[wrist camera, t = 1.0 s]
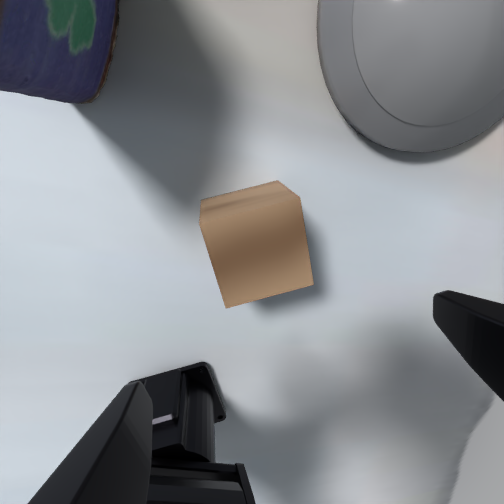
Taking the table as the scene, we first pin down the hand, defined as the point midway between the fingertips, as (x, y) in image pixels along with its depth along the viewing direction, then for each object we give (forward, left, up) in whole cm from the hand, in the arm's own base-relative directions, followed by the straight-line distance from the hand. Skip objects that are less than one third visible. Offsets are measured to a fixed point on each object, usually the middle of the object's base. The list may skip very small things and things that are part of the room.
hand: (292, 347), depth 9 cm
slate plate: (+9, -13, -12) cm, 20 cm away
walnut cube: (0, 0, -12) cm, 12 cm away
